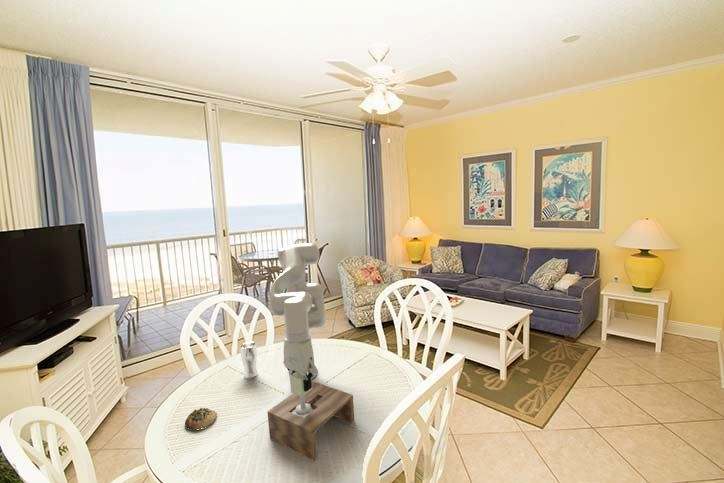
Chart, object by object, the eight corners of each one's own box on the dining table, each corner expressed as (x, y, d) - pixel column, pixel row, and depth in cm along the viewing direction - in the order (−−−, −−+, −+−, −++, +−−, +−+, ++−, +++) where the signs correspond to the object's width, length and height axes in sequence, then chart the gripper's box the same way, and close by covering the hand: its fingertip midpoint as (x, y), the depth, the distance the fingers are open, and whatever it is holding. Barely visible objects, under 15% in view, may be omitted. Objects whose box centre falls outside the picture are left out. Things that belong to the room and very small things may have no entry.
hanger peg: (292, 412, 115) (289, 375, 114) (303, 404, 119) (300, 369, 118) (303, 416, 112) (300, 379, 111) (313, 408, 117) (311, 372, 115)
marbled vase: (245, 372, 164) (242, 342, 162) (260, 370, 164) (257, 341, 162) (241, 379, 157) (238, 348, 155) (257, 378, 157) (253, 347, 155)
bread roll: (182, 420, 129) (182, 407, 129) (213, 412, 136) (213, 400, 136) (187, 437, 121) (188, 423, 120) (220, 427, 127) (221, 414, 127)
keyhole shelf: (269, 438, 117) (267, 411, 116) (312, 404, 135) (311, 380, 134) (314, 460, 106) (311, 431, 105) (354, 420, 124) (352, 394, 123)
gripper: (271, 335, 114) (275, 386, 116) (309, 344, 105) (313, 400, 107) (287, 327, 120) (291, 376, 123) (324, 336, 111) (328, 388, 113)
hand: (301, 386), depth 115 cm, fingers closed on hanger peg, 5 cm apart
